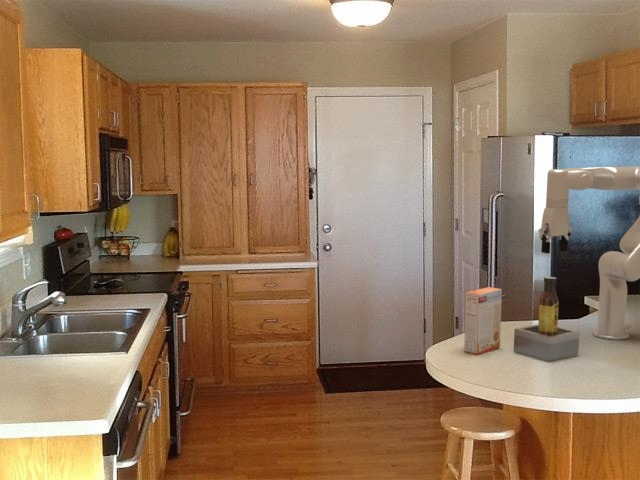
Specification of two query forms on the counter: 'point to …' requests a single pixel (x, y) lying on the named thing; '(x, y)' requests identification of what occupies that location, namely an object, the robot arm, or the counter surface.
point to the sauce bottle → (548, 308)
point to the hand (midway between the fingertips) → (554, 252)
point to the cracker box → (482, 320)
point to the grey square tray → (546, 343)
